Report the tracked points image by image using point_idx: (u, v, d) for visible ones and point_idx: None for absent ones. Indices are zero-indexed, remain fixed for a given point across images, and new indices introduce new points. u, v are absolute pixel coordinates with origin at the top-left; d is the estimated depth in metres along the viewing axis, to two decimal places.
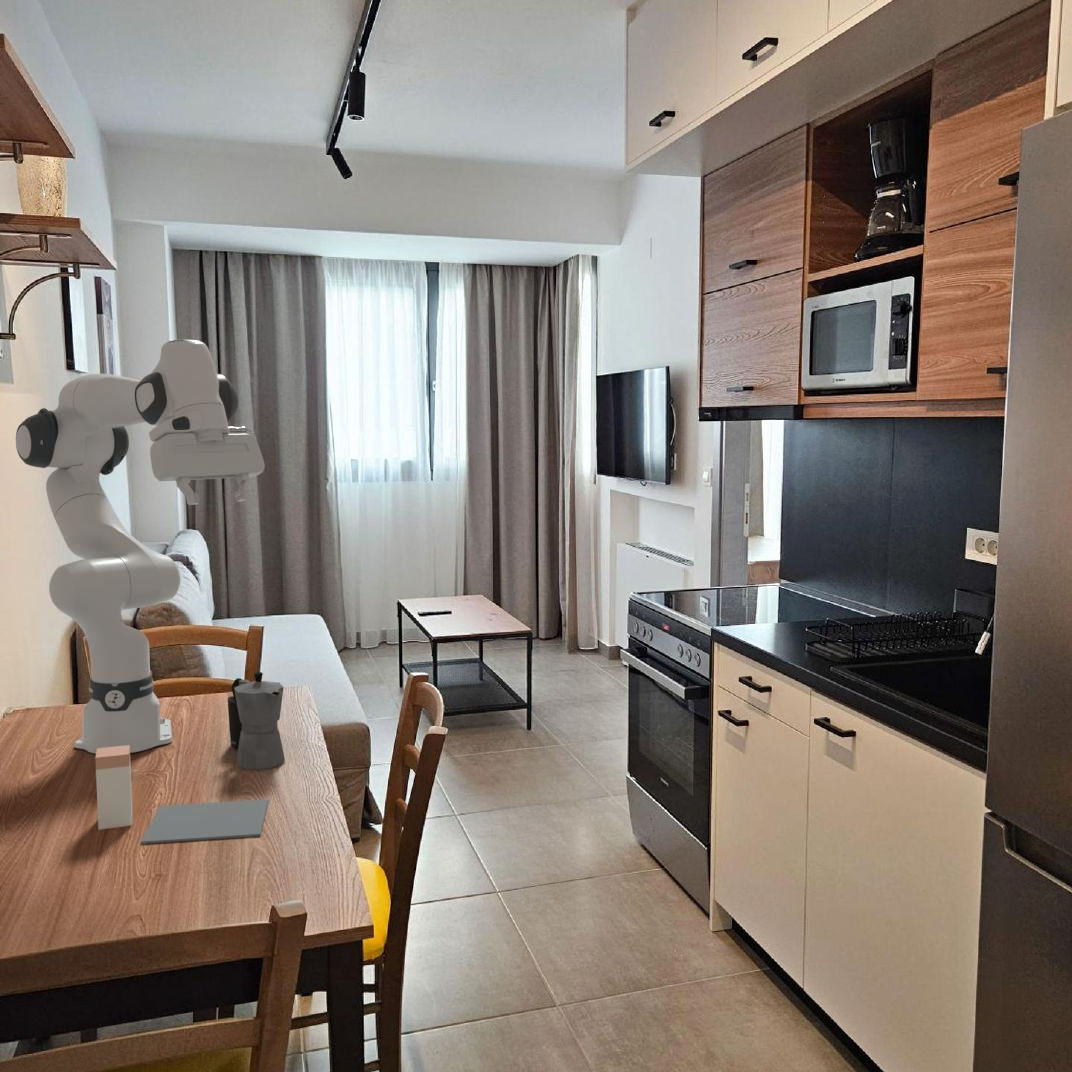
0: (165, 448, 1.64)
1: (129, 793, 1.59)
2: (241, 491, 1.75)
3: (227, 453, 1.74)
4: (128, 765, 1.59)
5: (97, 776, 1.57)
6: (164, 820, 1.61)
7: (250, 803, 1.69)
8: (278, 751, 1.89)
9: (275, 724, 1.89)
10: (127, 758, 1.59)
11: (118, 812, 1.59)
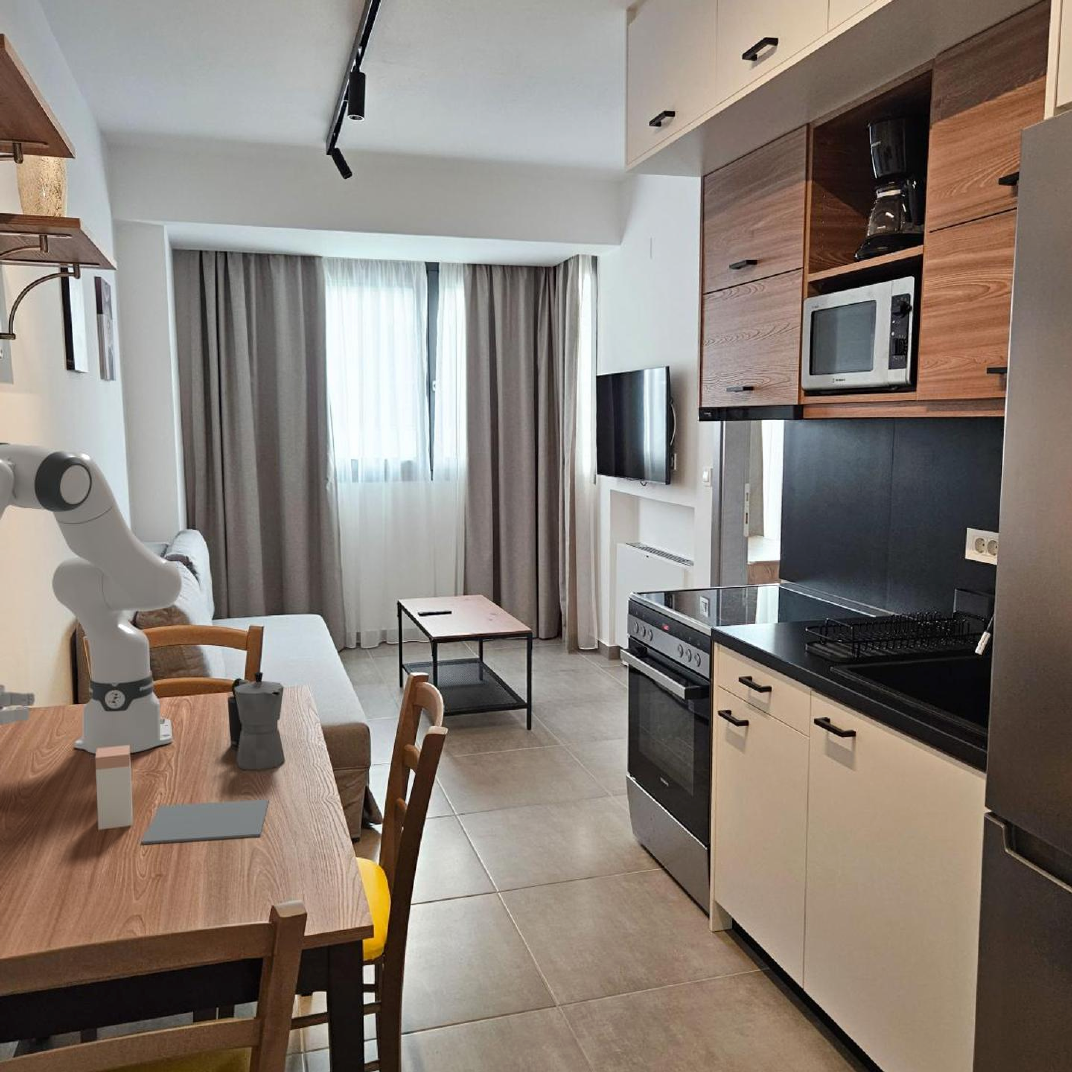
0: None
1: (129, 793, 1.59)
2: None
3: None
4: (128, 765, 1.59)
5: (97, 776, 1.57)
6: (164, 820, 1.61)
7: (250, 803, 1.69)
8: (278, 751, 1.89)
9: (275, 724, 1.89)
10: (127, 758, 1.59)
11: (118, 812, 1.59)
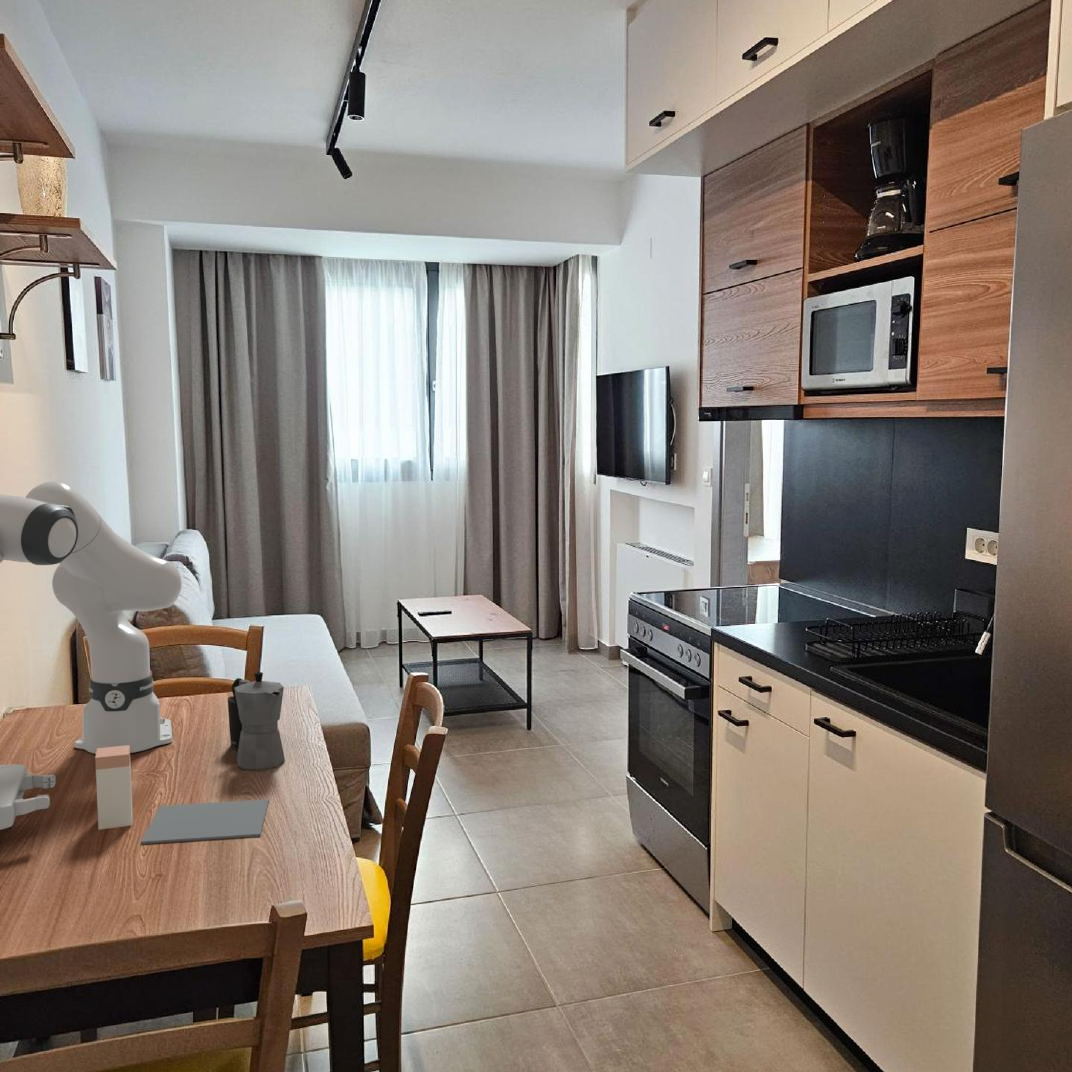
0: None
1: (129, 793, 1.59)
2: None
3: None
4: (128, 765, 1.59)
5: (97, 776, 1.57)
6: (164, 820, 1.61)
7: (250, 803, 1.69)
8: (278, 751, 1.89)
9: (275, 724, 1.89)
10: (127, 758, 1.59)
11: (118, 812, 1.59)
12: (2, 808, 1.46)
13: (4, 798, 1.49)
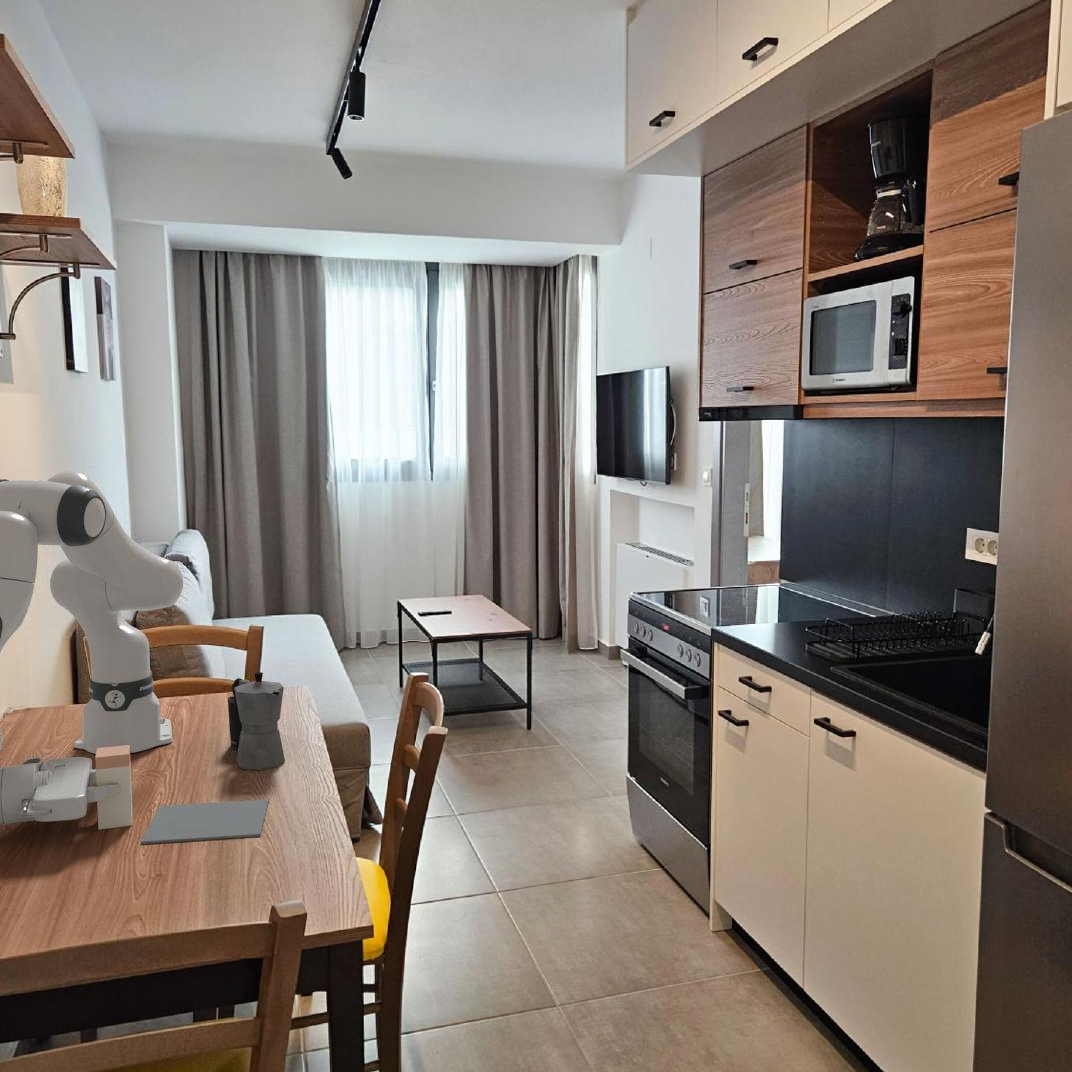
0: None
1: (129, 793, 1.59)
2: None
3: None
4: (128, 765, 1.59)
5: (97, 776, 1.57)
6: (164, 820, 1.61)
7: (250, 803, 1.69)
8: (278, 751, 1.89)
9: (275, 724, 1.89)
10: (127, 758, 1.59)
11: (118, 812, 1.59)
12: (76, 798, 1.50)
13: (77, 789, 1.53)
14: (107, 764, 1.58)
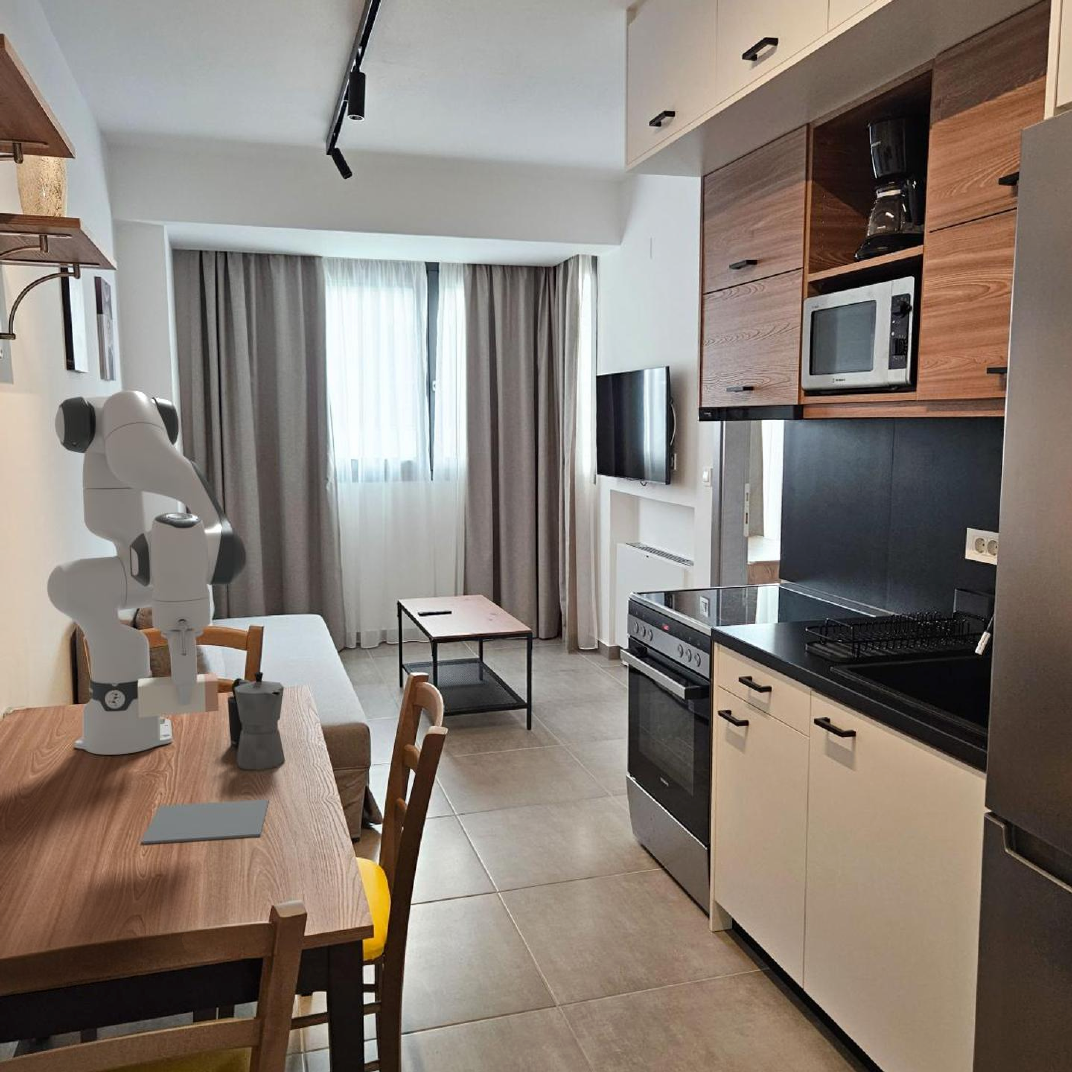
0: None
1: (175, 713, 1.56)
2: None
3: None
4: (206, 710, 1.58)
5: (197, 683, 1.57)
6: (164, 820, 1.61)
7: (250, 803, 1.69)
8: (278, 751, 1.89)
9: (275, 724, 1.89)
10: (214, 709, 1.58)
11: (155, 704, 1.55)
12: (195, 677, 1.50)
13: None
14: (209, 691, 1.58)
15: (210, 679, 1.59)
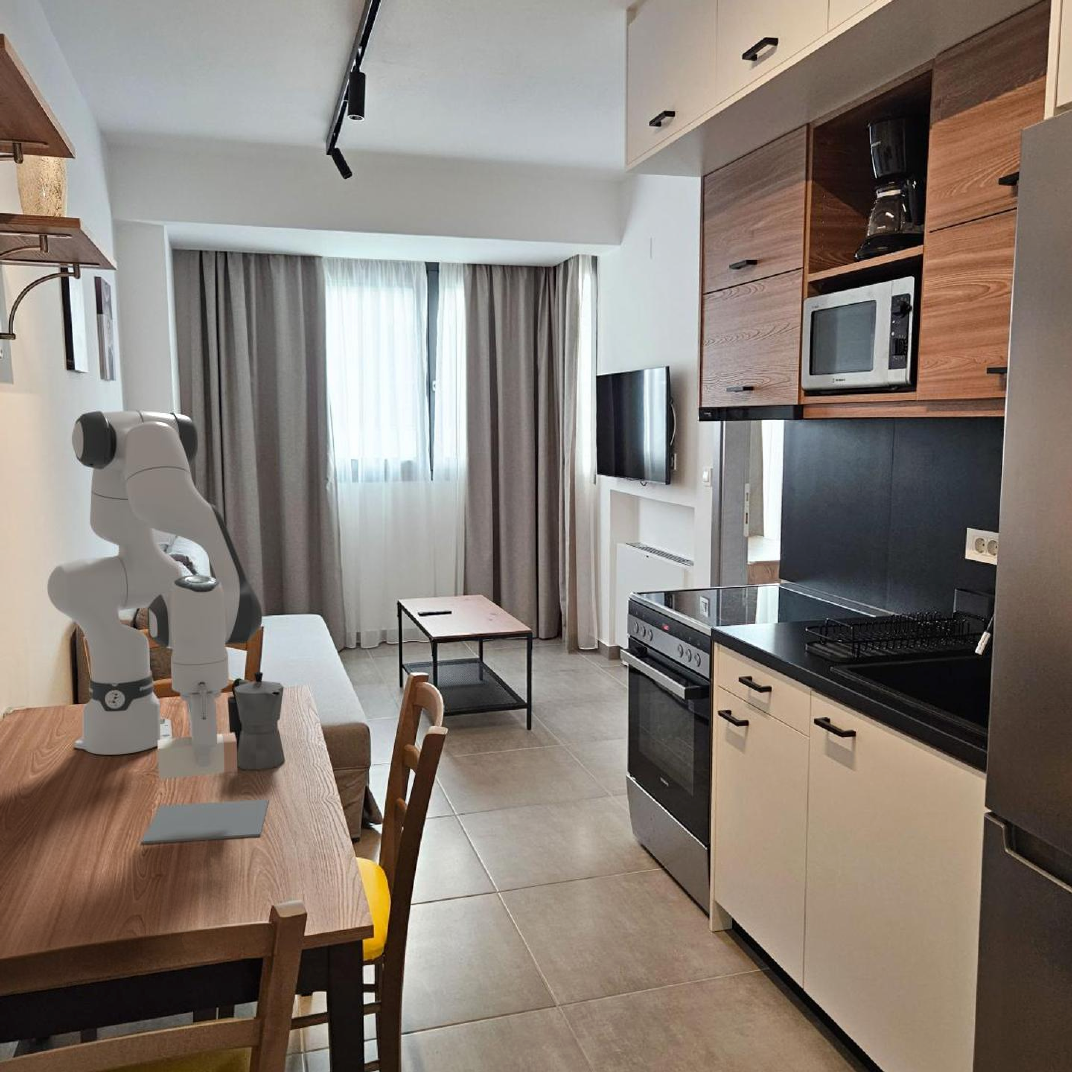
0: None
1: (194, 774, 1.58)
2: None
3: (190, 715, 1.56)
4: (225, 771, 1.59)
5: None
6: (164, 820, 1.61)
7: (250, 803, 1.69)
8: (278, 751, 1.89)
9: (275, 724, 1.89)
10: (232, 770, 1.60)
11: (174, 766, 1.56)
12: (215, 741, 1.51)
13: None
14: (228, 752, 1.59)
15: (229, 739, 1.60)
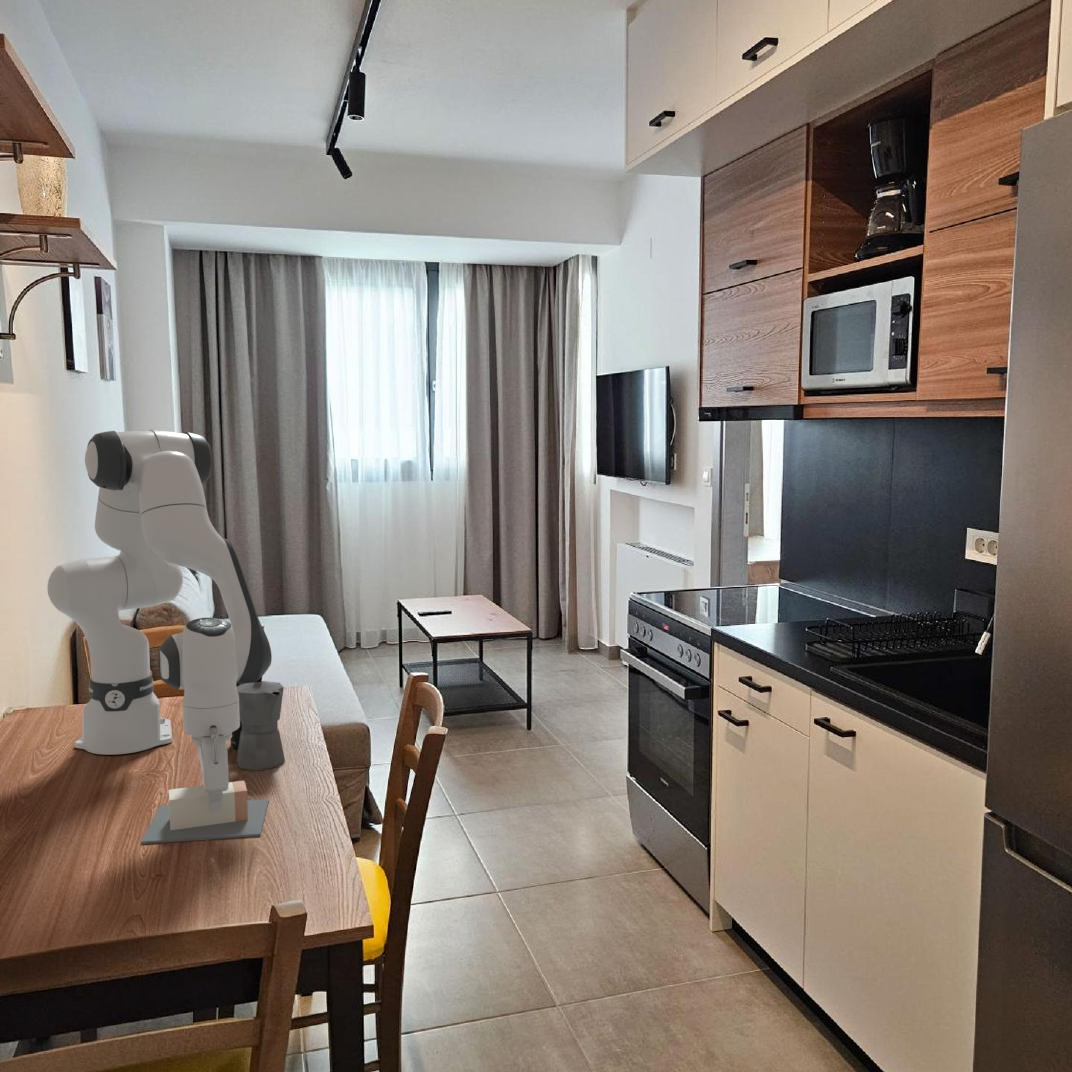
0: None
1: (205, 824, 1.59)
2: None
3: None
4: (236, 820, 1.61)
5: (227, 794, 1.60)
6: (164, 820, 1.61)
7: (250, 803, 1.69)
8: (278, 751, 1.89)
9: (275, 724, 1.89)
10: (243, 818, 1.61)
11: (186, 816, 1.58)
12: (227, 785, 1.52)
13: None
14: (238, 801, 1.61)
15: (239, 789, 1.62)
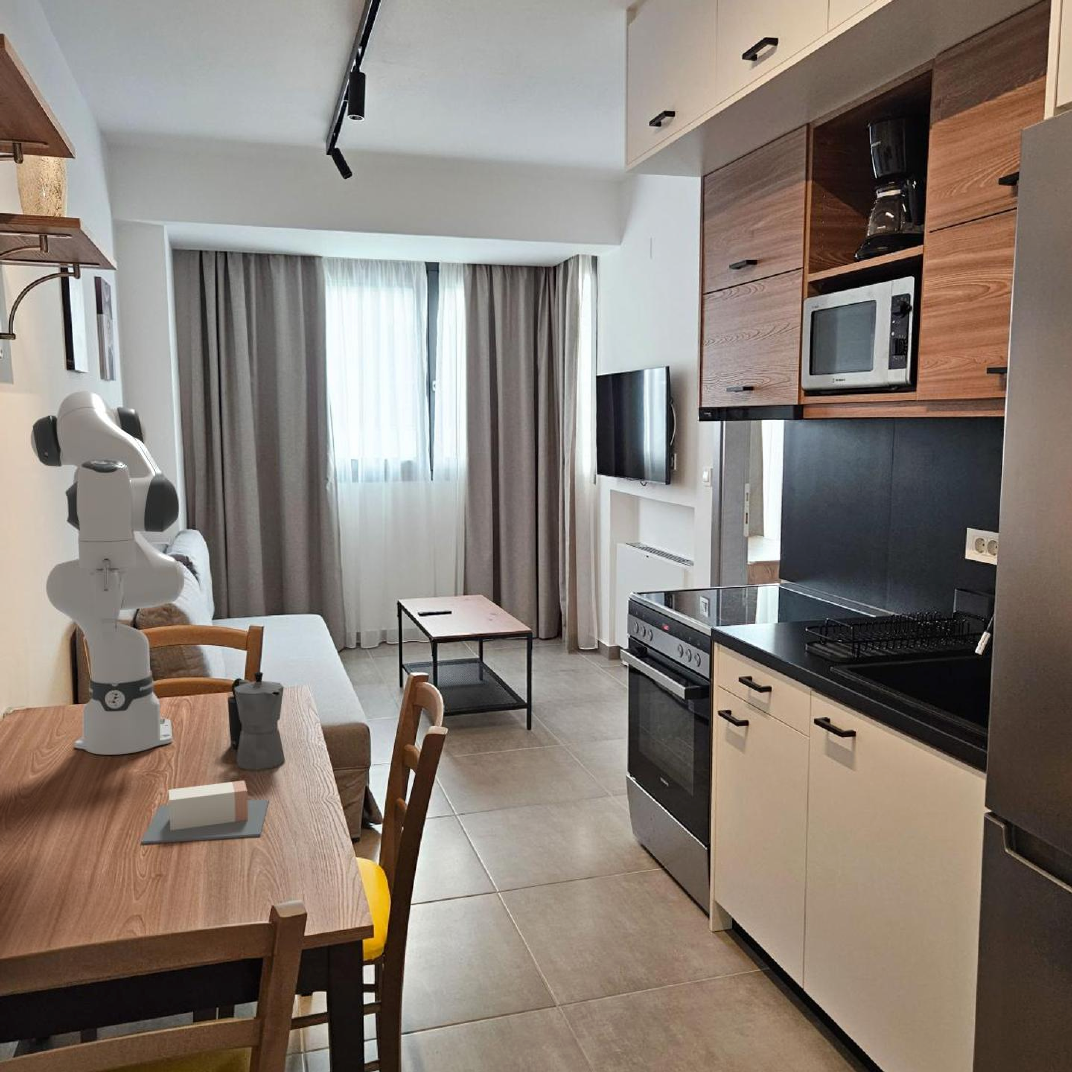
0: None
1: (205, 824, 1.59)
2: None
3: None
4: (236, 820, 1.61)
5: (227, 794, 1.60)
6: (164, 820, 1.61)
7: (250, 803, 1.69)
8: (278, 751, 1.89)
9: (275, 724, 1.89)
10: (243, 818, 1.61)
11: (186, 816, 1.58)
12: (117, 612, 1.59)
13: None
14: (238, 801, 1.61)
15: (239, 789, 1.62)
